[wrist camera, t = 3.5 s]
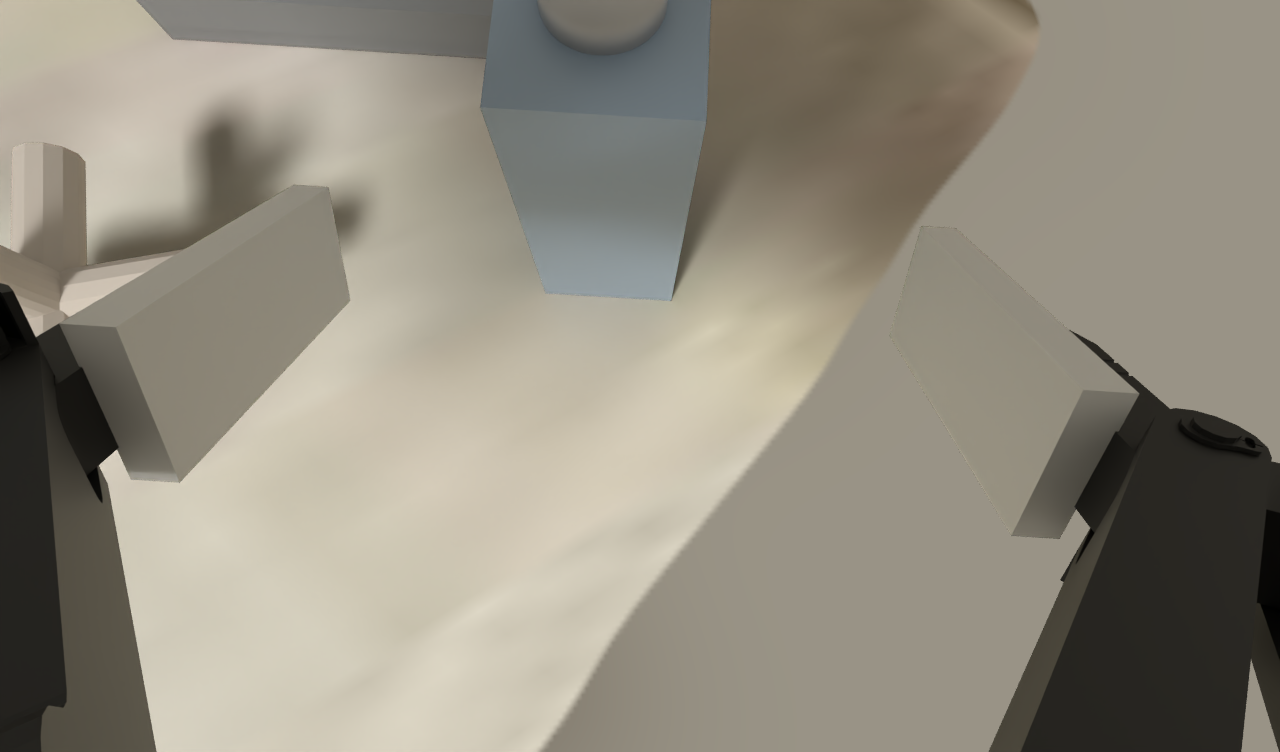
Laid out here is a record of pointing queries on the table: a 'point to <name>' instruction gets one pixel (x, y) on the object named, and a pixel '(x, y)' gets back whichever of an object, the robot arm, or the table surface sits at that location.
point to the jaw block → (600, 135)
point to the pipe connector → (56, 239)
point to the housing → (333, 24)
